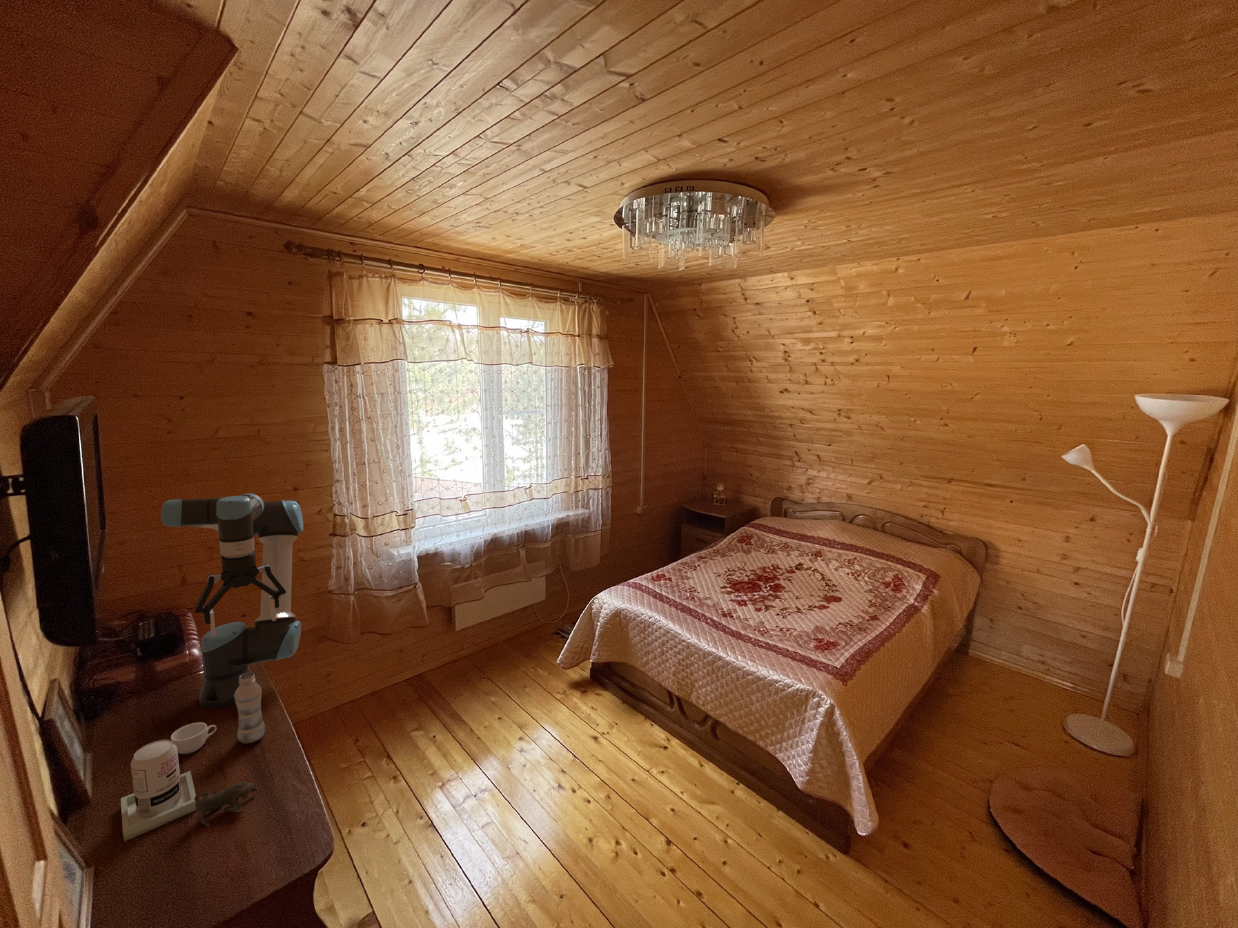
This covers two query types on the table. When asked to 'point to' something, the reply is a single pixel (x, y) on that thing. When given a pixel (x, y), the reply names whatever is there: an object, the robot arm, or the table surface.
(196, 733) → the teacup
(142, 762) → the supplement can
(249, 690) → the plastic bottle
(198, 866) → the table surface
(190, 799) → the can tray
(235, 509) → the robot arm
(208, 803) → the dog figurine
